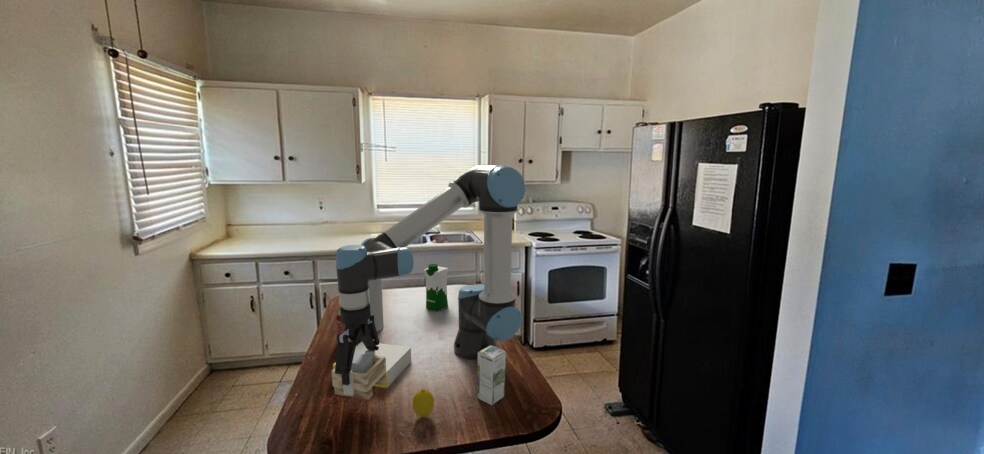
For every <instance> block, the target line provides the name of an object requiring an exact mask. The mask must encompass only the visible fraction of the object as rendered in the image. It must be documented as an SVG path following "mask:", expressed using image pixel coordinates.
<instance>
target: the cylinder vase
mask: <svg viewBox="0 0 984 454" xmlns="http://www.w3.org/2000/svg"><path fill="white" fill-rule="evenodd" d="M382 286H383V284H382V279H377V280H371V281H369V295H370V302H369V304H370V311H371V315H374V323H375V327H376V331H377V333H379V332H380V331H381V330H382V329H383V328H384V326H385V325H384V308H383V307H384V306H383V305H384V304H383V287H382Z"/></svg>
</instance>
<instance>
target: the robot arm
mask: <svg viewBox="0 0 984 454" xmlns="http://www.w3.org/2000/svg"><path fill="white" fill-rule="evenodd" d="M525 194H526V183H525V179H524V178H523V175H522V174H521V173H520V172H519V171H518V170H517V169H515V168H513V167H511V166H507V165H497V164H496V165H491V164H479V165H475V166H473V167H471V168H469V169H468V170H466V171H465V172H462V174H460V175H458V176H457V177H455V178H454V179H453V180H451V181H450V182H449V183H448V186H447V188H445V189H444V190H442V191H441V192H440V193H438V194H437V195H435V196H434V197H433V198H431V199H430V200H428V201H427V202H425V203H424V204H423V205H421V206H420V207H418V208H417V209H415V210H414V211H412V212H411V213H409V214H407V216H405V217H404V218H402V219H401V220H400V221H398V222H396V223H394V225H392V226H391V227H389V228H388V229H386V230H385V231H384V232H382V233H381V234H379V235H378V236H376V237H368V238H365V239H364V240H363V241H362V243H360V244H348V245H343V246H340V247H339V248H338V249H337V250H336V251H335V261H336V262H335V268H336V277H337V288H338V298H339V299H338V300H339V311H340V318H341V321H342V322H343V323H344V324H345V330H344V333H342V334H338V335H336V343H337V347H336V356H335V362H336V365H335V374H341V375H342V384H343V392H344V394H345V395H351V396H353V395H354V394H355V393H354V380H353V371H351V366H352V362H353V357H354V353H355V348H356V346H357V345H358V344H359V343H360V342H359V341H360V340H361V342H363V343H364V345H365V347H366V349H368V350H366V351H365V354H367V355H375V350H377V351H378V349H379V346H377V345H379V343H380V338H379V335H378V332H377V331H376V327H375V323H374V315H371V311H370V304H369V302H370V295H369V281H371V280H377V279H381V280H383V279H389V278H395V277H401V276H404V275H405V276H406V275H409V274H411V273H412V272H413V270H414V267H415V266H414V256H413V253H412V251H411V249H410V248H409V247H408V246H410V245H411V244H413V243H414V242H415V241H417V240H418V239H419V238H421V237H422V236H423V235H425V234H426V233H428V232H429V231H430V230H432V229H433V228H435V227H436V226H437V225H439V224H440V223H442V222H444V220H446V219H448V218H449V217H450V216H451V215H453V214H454V213H456V212H457V211H459V210H460V209H462V208H464V209H465V208H468V207H469V206H471V205H472V204H474V203H478V205H479V206H478V210H479V212H480V213H481V214H482V215H483V216H484V218H483V220H484V221H483V227H484V228H483V283H481V284H480V283H479V284H477V283H476V284H469V285H466V286H463V287H461V288H460V289H459V291H458V296H457V300H458V305H457V306H458V330H457V333H456V336H455V339H454V342H453V351H454V352H455V354H456V355H457V356H459V357H461V358H463V359H469V360H478V352H479V351H481V350H483V349H485V348H487V347H488V346H490V345H491V346H495V347H498V344H497V341H498V342H505V341H508V340H510V339H512V338H513V337H514V336H515V335H516V334H517V332H518V331H519V330H520V329H521V326H522V322H523V315H522V312H521V311H520V310H519V308H517V307H516V294H515V293H514V292H513V291H512V253H513V251H512V248H513V246H512V245H513V244H512V243H513V242H512V241H513V240H512V239H513V216H514V215H515V214H516V213H517V212H518V205H519V204H521V203H522V200H523V199H524V197H525ZM349 340H351V341H354V342H349Z"/></svg>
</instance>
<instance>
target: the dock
mask: <svg viewBox="0 0 984 454" xmlns="http://www.w3.org/2000/svg"><path fill="white" fill-rule="evenodd" d="M377 346H379V349H378V351H377V350H375V356H382V357H386V382H385V383H384V384H383V385H379V384H374V385H373V386H372V387H378V388H383V389H388V388H389V387H390V385H392V383H394V381H395V380H396V379H397V378H398V377H399V376H400V375H401V374H402V372H403V371H404V370H405V369H406V368H407V367H408V366H409V365H410V364H411V363H412V347H411V346H410V347H409V346H402V345H395V344H388V343H380V342H379V345H377ZM366 350H368V349H366V347H365V345H364V343H363V342H362V341H360V342H358V345H357V346H356V348H355V353H360V354H365V351H366ZM335 365H336V361H335V362H334V363H332V370H333V369H334V368H335Z"/></svg>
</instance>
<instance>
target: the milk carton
mask: <svg viewBox="0 0 984 454" xmlns="http://www.w3.org/2000/svg"><path fill="white" fill-rule="evenodd" d="M423 272H424V276H425V292H426V293H425V294H426V295H425V309H426V308H427V309H428V310H430V309H431V311H434V310H435V312H440V311H442V310H444V309H446V308H448V307H449V303H448V289H447V288H448V286H447V285H448V283H447V282H448V281H447V280H448V272H449V267H443V266H439V265H438V264H437V263H436V264H435V263H431V264H428V267H427V268H424V269H423ZM447 306H448V307H447ZM445 307H446V308H445ZM443 308H444V309H443ZM441 309H442V310H441ZM439 310H440V311H439Z"/></svg>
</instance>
